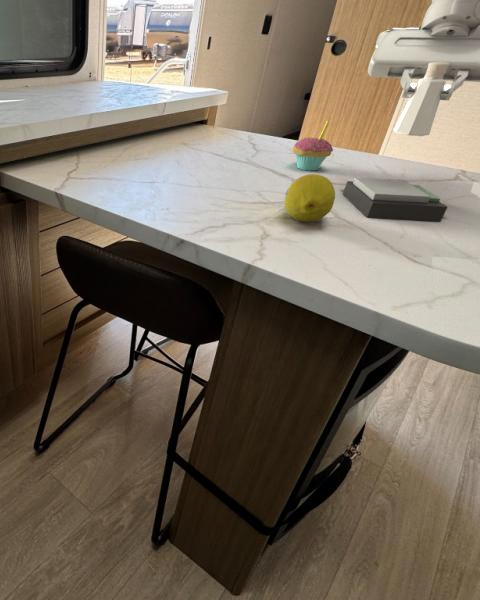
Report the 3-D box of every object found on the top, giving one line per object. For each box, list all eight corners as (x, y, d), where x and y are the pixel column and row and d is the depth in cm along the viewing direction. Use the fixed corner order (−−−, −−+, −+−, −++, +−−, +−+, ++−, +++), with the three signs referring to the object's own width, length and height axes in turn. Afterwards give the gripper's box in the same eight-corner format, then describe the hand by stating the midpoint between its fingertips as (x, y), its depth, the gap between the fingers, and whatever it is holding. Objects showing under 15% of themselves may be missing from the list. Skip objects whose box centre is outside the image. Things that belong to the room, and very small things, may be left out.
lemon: (285, 207, 80) (297, 165, 76) (330, 215, 76) (345, 171, 72) (272, 225, 72) (284, 180, 68) (321, 235, 69) (337, 188, 64)
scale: (405, 197, 84) (414, 178, 82) (440, 221, 74) (451, 200, 71) (342, 194, 86) (349, 175, 84) (367, 217, 75) (375, 196, 73)
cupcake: (333, 169, 101) (350, 116, 95) (313, 175, 97) (330, 120, 91) (300, 161, 107) (314, 111, 101) (280, 166, 103) (294, 115, 97)
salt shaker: (430, 132, 74) (461, 62, 68) (426, 137, 71) (459, 64, 65) (395, 128, 77) (422, 61, 71) (390, 133, 74) (417, 62, 68)
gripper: (385, 13, 74) (359, 79, 73) (539, 10, 64) (513, 87, 63) (377, 42, 80) (353, 104, 78) (518, 43, 70) (493, 114, 68)
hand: (426, 96), depth 70 cm, fingers closed on salt shaker, 4 cm apart
